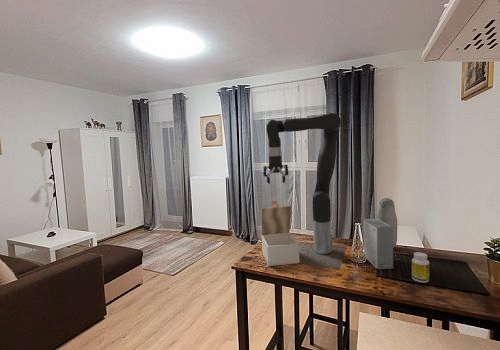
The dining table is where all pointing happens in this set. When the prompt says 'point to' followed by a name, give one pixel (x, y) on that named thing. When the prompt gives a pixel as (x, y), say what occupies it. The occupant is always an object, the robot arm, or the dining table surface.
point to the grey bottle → (388, 216)
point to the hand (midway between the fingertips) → (276, 183)
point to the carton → (280, 249)
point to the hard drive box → (378, 243)
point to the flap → (276, 219)
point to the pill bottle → (420, 267)
